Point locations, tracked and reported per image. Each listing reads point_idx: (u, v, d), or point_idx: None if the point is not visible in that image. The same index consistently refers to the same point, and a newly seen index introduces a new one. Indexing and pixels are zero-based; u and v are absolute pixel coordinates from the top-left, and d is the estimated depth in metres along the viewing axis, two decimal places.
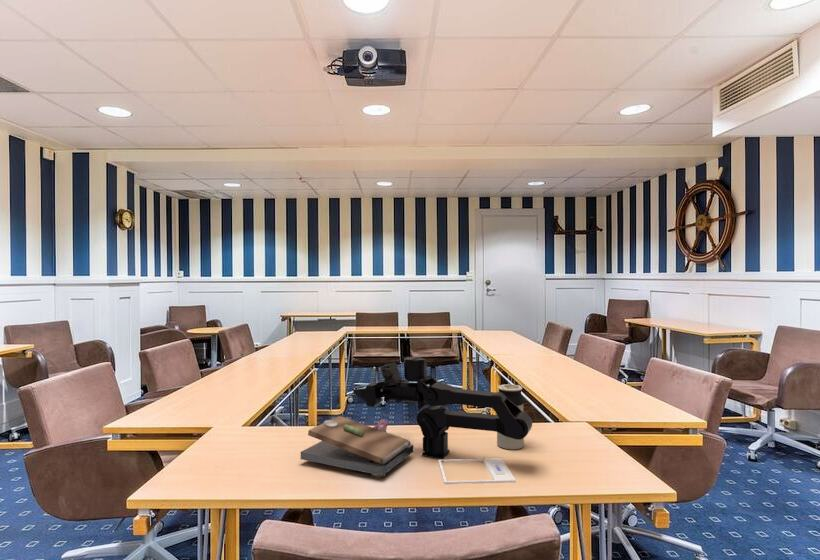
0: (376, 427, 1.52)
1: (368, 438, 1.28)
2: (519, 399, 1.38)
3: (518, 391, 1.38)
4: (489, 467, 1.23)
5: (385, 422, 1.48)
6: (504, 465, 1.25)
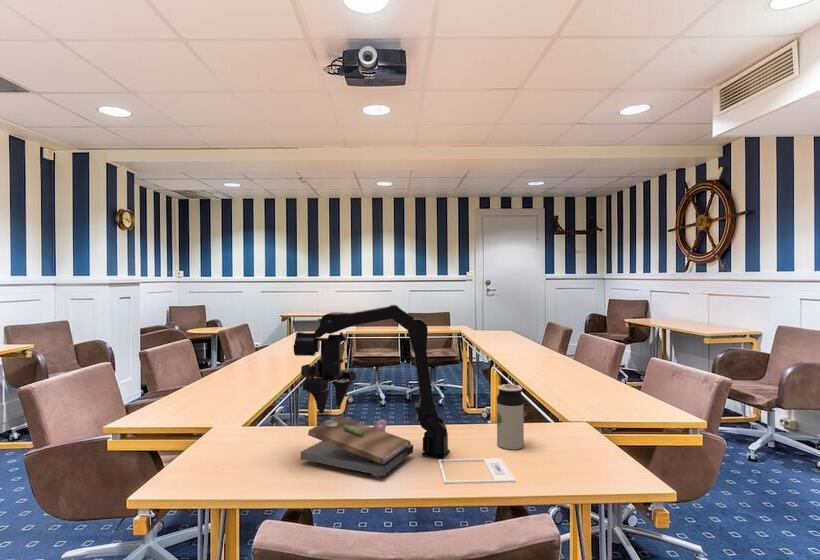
0: (375, 427, 1.52)
1: (368, 438, 1.28)
2: (519, 399, 1.38)
3: (518, 391, 1.38)
4: (489, 467, 1.23)
5: (384, 422, 1.48)
6: (504, 465, 1.25)
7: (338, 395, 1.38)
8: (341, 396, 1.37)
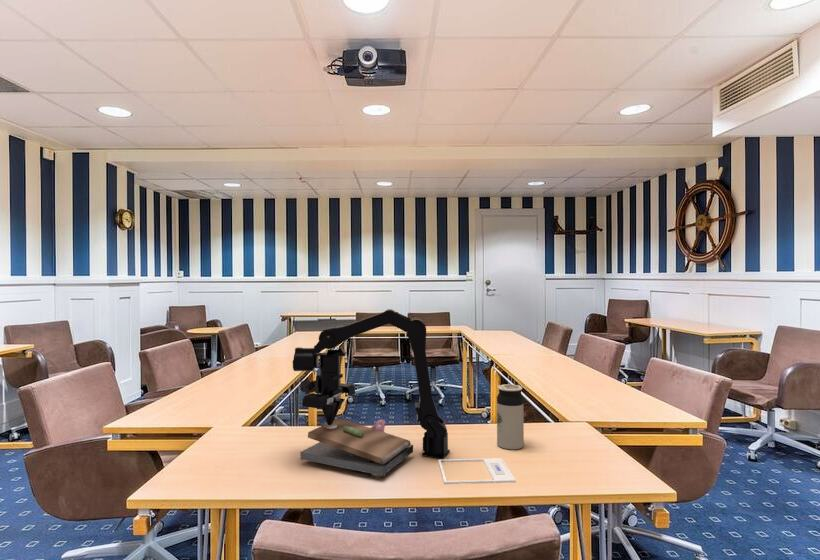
0: (374, 427, 1.52)
1: (368, 439, 1.28)
2: (519, 399, 1.38)
3: (518, 391, 1.38)
4: (489, 467, 1.23)
5: (383, 422, 1.48)
6: (504, 465, 1.25)
7: None
8: None
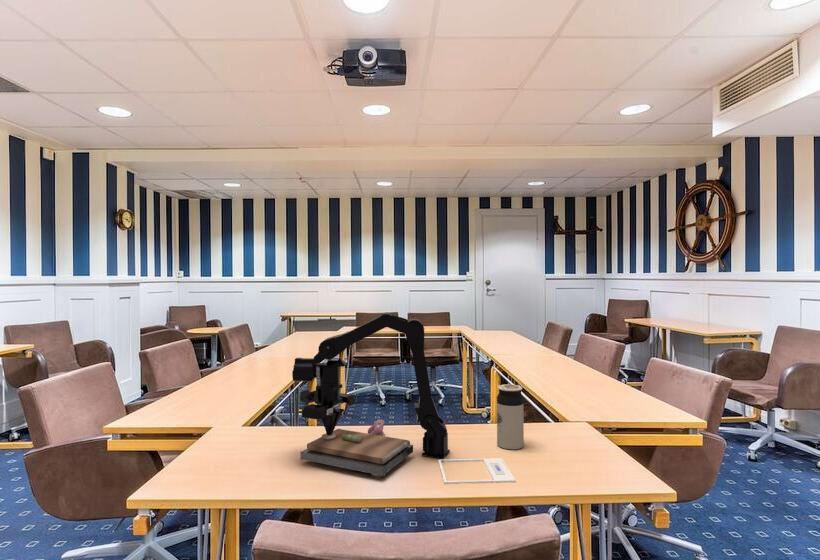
0: (373, 427, 1.52)
1: (367, 443, 1.28)
2: (519, 399, 1.38)
3: (518, 391, 1.38)
4: (489, 467, 1.23)
5: (382, 422, 1.47)
6: (504, 465, 1.25)
7: None
8: None
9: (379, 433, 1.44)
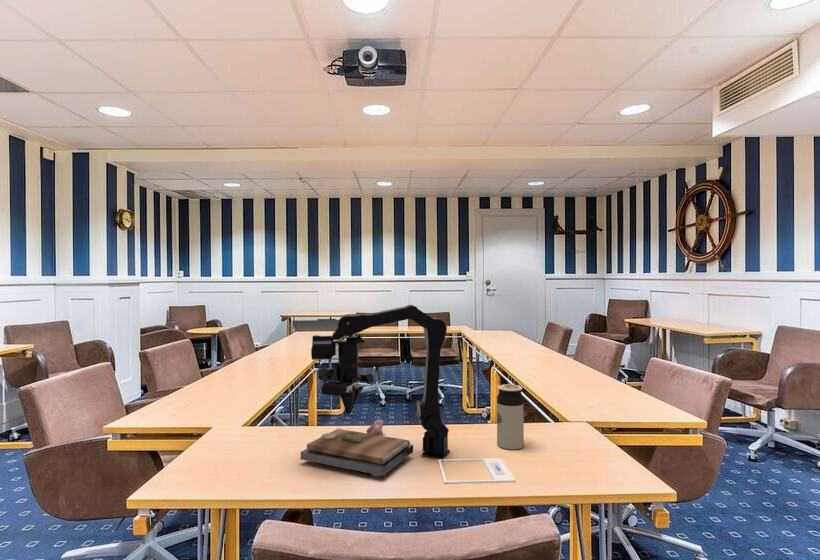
0: (372, 427, 1.52)
1: (367, 443, 1.28)
2: (519, 399, 1.38)
3: (518, 391, 1.38)
4: (489, 467, 1.23)
5: (381, 422, 1.47)
6: (504, 465, 1.25)
7: None
8: None
9: (378, 433, 1.44)
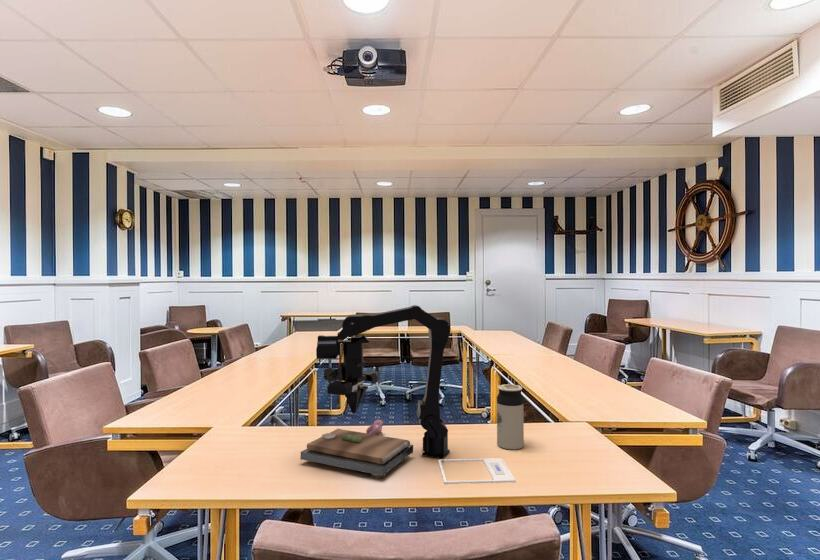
0: (371, 427, 1.52)
1: (367, 443, 1.28)
2: (519, 399, 1.38)
3: (518, 391, 1.38)
4: (488, 467, 1.23)
5: (380, 422, 1.47)
6: (504, 465, 1.25)
7: None
8: None
9: (378, 433, 1.44)
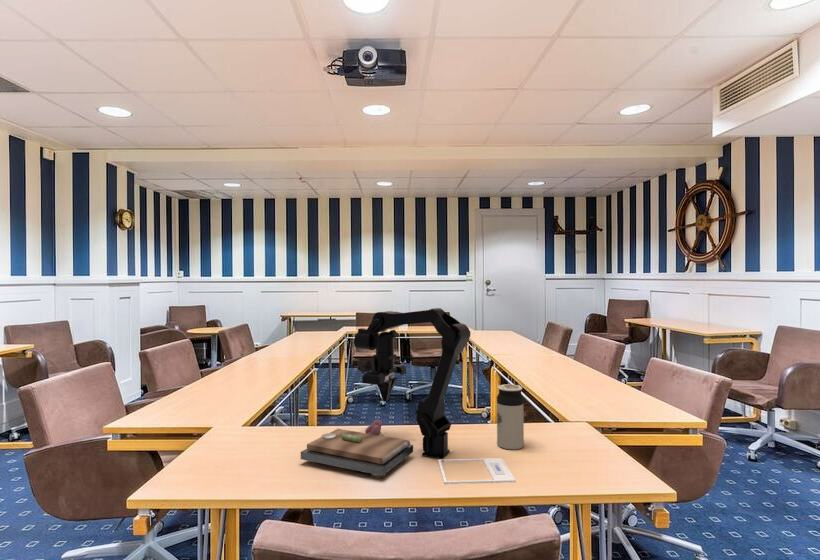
0: (370, 427, 1.52)
1: (367, 443, 1.28)
2: (519, 399, 1.38)
3: (518, 391, 1.38)
4: (488, 467, 1.23)
5: (379, 422, 1.47)
6: (504, 465, 1.25)
7: None
8: None
9: (377, 433, 1.44)
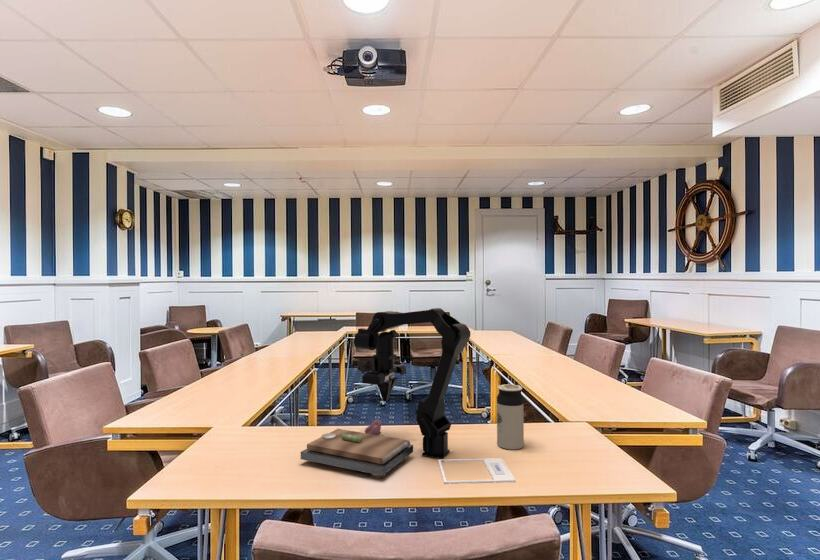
0: (370, 427, 1.52)
1: (367, 443, 1.28)
2: (519, 399, 1.38)
3: (518, 391, 1.38)
4: (488, 467, 1.23)
5: (379, 422, 1.47)
6: (504, 465, 1.25)
7: None
8: None
9: (376, 433, 1.44)
